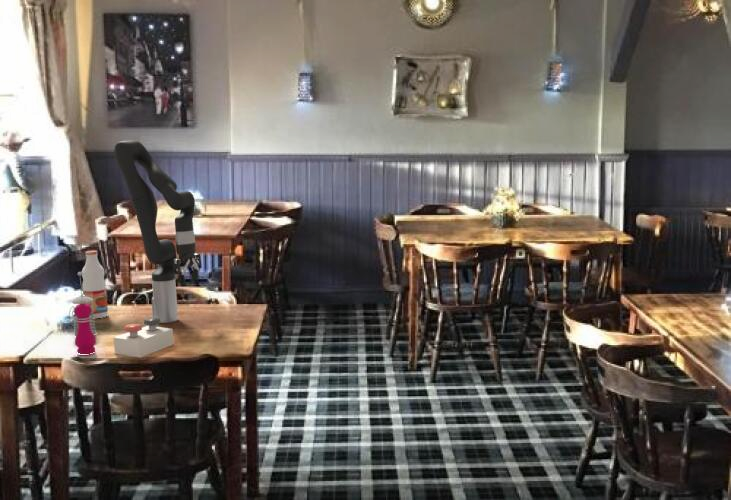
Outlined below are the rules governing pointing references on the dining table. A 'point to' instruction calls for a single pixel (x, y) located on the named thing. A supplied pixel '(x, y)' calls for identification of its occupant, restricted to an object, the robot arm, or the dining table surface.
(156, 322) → the dark grey knob
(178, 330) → the dining table surface
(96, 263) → the fruit juice
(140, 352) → the control box
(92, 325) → the french press
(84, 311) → the pepper mill
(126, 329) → the red button
